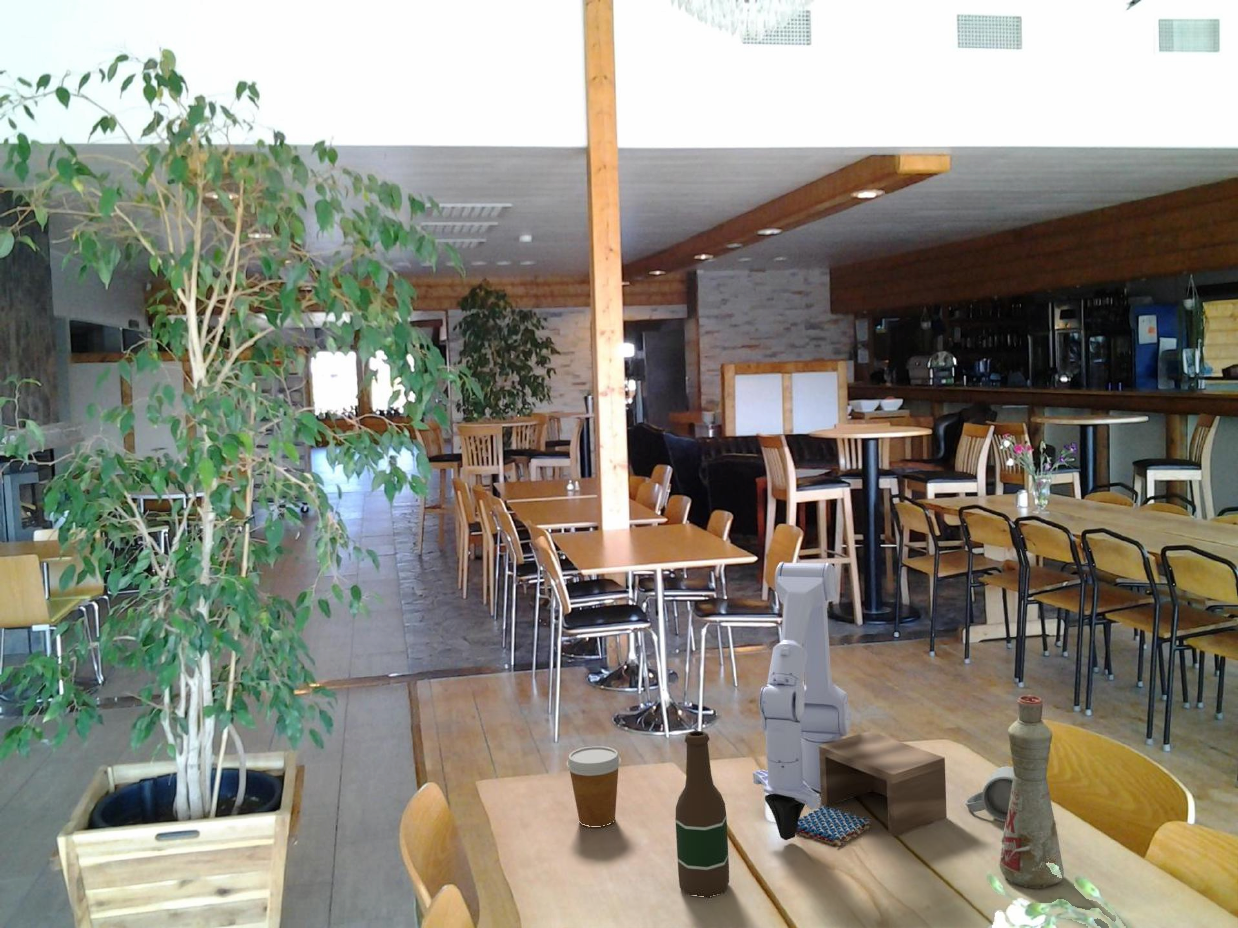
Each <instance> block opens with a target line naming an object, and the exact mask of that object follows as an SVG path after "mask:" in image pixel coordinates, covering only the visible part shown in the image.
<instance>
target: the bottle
mask: <svg viewBox="0 0 1238 928" xmlns="http://www.w3.org/2000/svg"><path fill="white" fill-rule="evenodd" d="M1017 704H1018V707H1017V708H1018V718H1017V719H1016V721H1014V722H1013V723H1012V724H1011V725H1010V726H1009V728H1008V729H1007V735H1008V740H1009V748H1010V757H1011V761H1012V767H1013V772H1014V776H1013V782H1012V788H1011V795H1010V801H1009V808H1008V813H1007V819H1006V822H1004V823H1005V824H1004V830H1003V835H1002V838H1001V840H1000V842H1001V843H1002V845H1001V852H1000V860H999V863H998V865H999V869H1000V872H1001V874H1002V875H1003V876H1004V877H1005V879H1007V880H1008V881H1009V882H1011V883H1013V884H1016V885H1019V886H1021V887H1026V888H1029V889H1030V888H1032V889H1036V890H1037V889H1039V888H1040V889H1041V888H1043V889H1044V888H1046V887H1050V886H1053V885H1056V884H1058V883H1060V882H1061V881H1062V880H1063V879H1064V876H1065V875H1064V874H1065V870H1064V865H1063V859H1062V854H1061V849H1060V848H1061V847H1060V842H1059V837H1058V831H1057V826H1056V825H1057V823H1056V820H1055V816H1054V811H1053V805H1052V800H1051V794H1050V789H1049V784H1048V778H1047V776H1048V765H1049V760H1050V753H1051V745H1052V741H1053V740H1052V739H1053V731H1052V730H1051V728H1050V727H1049V726H1048V725H1047V724H1046V723H1044V721H1043V719H1042V716H1043V706H1044V705H1043V704H1044V702H1043V700H1042V699H1041V697H1038V696H1036V695H1032V694H1029V695H1021V696H1019V697H1018V699H1017ZM1048 862H1049V863H1054V864H1055V865H1057V866H1059V870H1060V872H1061V875H1062V878H1059V877H1057V875H1054V874H1052V872H1051V870H1050V868H1049V867H1048V866H1047V865H1046V863H1048Z"/></svg>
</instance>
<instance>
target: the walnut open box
mask: <svg viewBox="0 0 1238 928" xmlns="http://www.w3.org/2000/svg"><path fill="white" fill-rule="evenodd" d="M819 758H820V782H821V792H820V805H822V804H823V806H824V805H825V806H826V807H829V806H832V805H834V804H838V803H840V802H843V801H846V800H849V799H853V798H855V797H858V796H861V795H865V794H867V793H870V792H876V793H878V794H880V795H882V796H885V797H886V798H887V818H888V821H887V822H888V826H887V827H888V834H889V835H891V836H894V837H897V836H900V835H903V834H906V833H909V832H910V831H914V830H916V829H919V828H923V827H925V826H928V825H931V824H933V823H935V822H939V821H941V820H944V819H947V818H948V817H947V816H948V815H947V790H946V789H947V786H946V785H947V784H946V757H945V756H941V755H938V754H936V753H933V752H930V751H927V750H924V749H921V748H919V747H915V746H912V745H909V744H908V743H904V742H901V741H899V740H896V739H893V738H890V737H887V736H883V735H881V734H879V733H875V732H873V731H870V730H869V731H865V732H862V733H858V734H855V735H851V736H847V737H846V738H845V737H844V738H842V739H841V740H838V741H834V742H831V743H827V744H824V745H821V746H819Z"/></svg>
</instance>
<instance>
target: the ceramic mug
mask: <svg viewBox="0 0 1238 928" xmlns="http://www.w3.org/2000/svg"><path fill="white" fill-rule="evenodd" d="M1013 776H1014V772H1013V766H1008V765H1007V766H1002V767H998V768H997V769H995V770H993V772H991V773H990V775H989V777H988V778H987V781H986V783H985V785H984V787H983V789H982V791H980V792H977V793H975V794H974V795H971V796H970V797H969V798H967V800H966V801H965V805H966V808H967V809H968V811H969V812H972V813H977V812H981V811H986V812H987V813H988V815H990V816H991V817H992V818H993V819H994V820H995V819H996V820H997V821H1000V822H1003V821H1004V822H1003V823H1006V819H1007V813H1008V808H1009V801H1010V795H1011V788H1012V782H1013Z"/></svg>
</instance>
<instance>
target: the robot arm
mask: <svg viewBox="0 0 1238 928" xmlns="http://www.w3.org/2000/svg"><path fill="white" fill-rule="evenodd" d="M837 585H838V584H837V571H836V569H835V567H834V566H833V564H832V562H826V563H825V562H823V563H818V562H813V563H811V562H785V561H780V562H779V564H778V565H777V566H776V569H775V574H774V588H775V591H776V594H777V595H778V600H779V602H780V603H781V604H782V605H783V611H782V623H781V625H782V626H781V638H780V640H781V641H780V642H779V643H777V644H776V645H774V647H773V648H772V653H771V659H770V664H769V671H768V676H767V681H766V686H762V687H761V689H760V693H759V699H758V702H759V703H758V710H759V715H760V719H761V724H762V725H761V726H762V730H763V731H764V732H765V753H766V754H765V755H766V770H765V769H759V770H756V771H753V773H752V777H753V784H755V785H758V786H759V785H762V786H763V792H764V793H766V795H765V796H764V801H765V802H766V803H767V806H768V807H769V809H770V811H771V813H772V816H773V818H774V821H775V823H776V827H777V830H778V834H779V836H780V837H779V838H780V839H782V840H785V841H788V840H791V839H794V838H795V837H796V834H797V833H796V829H797V825H798V821H799V819H800V818H801V814H802V812H803V811H804V808H805V806H806V807H807V809H810V810H813V809H817V808H820V807H821V794H819V793H821V782H820V758H819V746H821V745H824V744H827V743H831V742H834V741H838V740H841V739H843V737H846V736H847V734H849V732H850V730H851V721H852V713H851V707H850V706H851V705H849V704H850V703H849V696H848V693H847V692H846V691H844V690H843V689H842V688H839V687H838V686H837V685H835V683H833V682H832V681H833V680H832V669H831V668H832V667H831V665H832V664H831V654H830V653H831V652H830V651H831V649H830V637H829V634H830V633H829V622H828V621H829V619H828V618H829V617H828V606H829V605H828V604H829V602H834V601H837V598H838V597H837V596H838V586H837ZM804 678H805V684H804ZM814 790H815V791H817V792H819V793H817V792H815V791H814Z"/></svg>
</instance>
